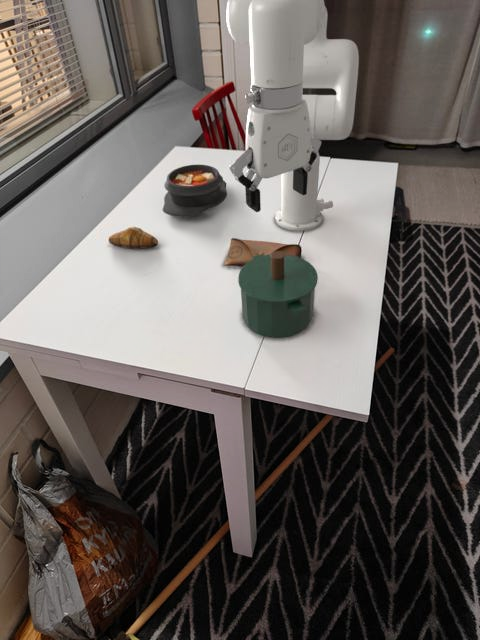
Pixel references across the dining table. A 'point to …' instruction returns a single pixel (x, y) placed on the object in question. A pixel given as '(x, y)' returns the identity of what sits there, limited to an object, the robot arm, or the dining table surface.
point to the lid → (277, 278)
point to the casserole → (193, 190)
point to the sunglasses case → (256, 250)
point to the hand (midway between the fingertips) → (277, 200)
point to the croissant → (133, 239)
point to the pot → (277, 315)
